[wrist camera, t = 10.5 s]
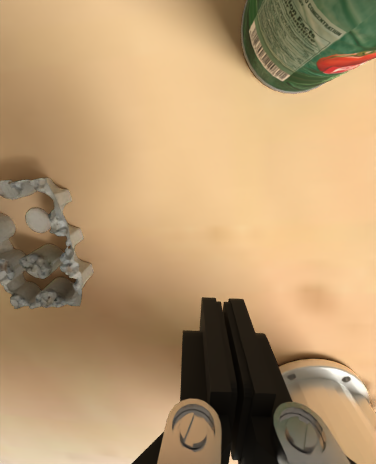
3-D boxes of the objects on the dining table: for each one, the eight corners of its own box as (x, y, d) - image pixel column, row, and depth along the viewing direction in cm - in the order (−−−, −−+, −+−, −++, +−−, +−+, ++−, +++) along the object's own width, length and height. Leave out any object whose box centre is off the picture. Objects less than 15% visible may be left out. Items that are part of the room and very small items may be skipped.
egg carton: (-13, 181, 20) (-63, 187, 16) (75, 173, 20) (45, 177, 16) (25, 292, 23) (-9, 320, 19) (100, 287, 23) (82, 314, 19)
